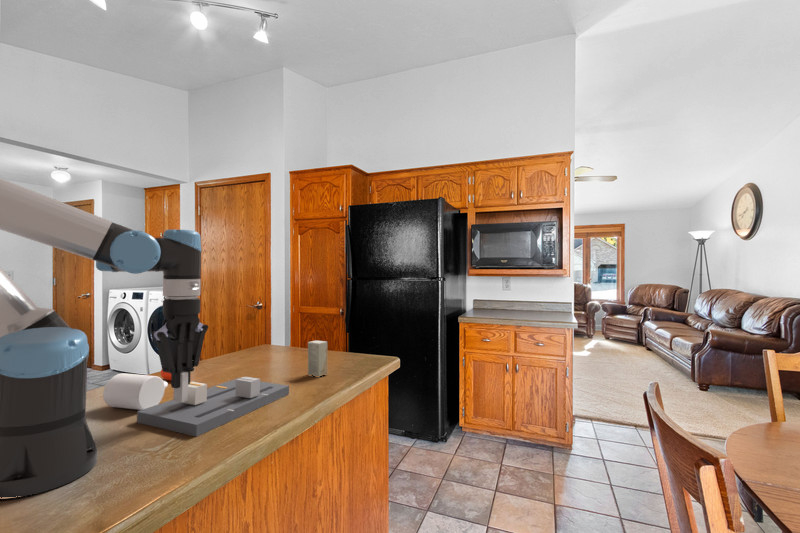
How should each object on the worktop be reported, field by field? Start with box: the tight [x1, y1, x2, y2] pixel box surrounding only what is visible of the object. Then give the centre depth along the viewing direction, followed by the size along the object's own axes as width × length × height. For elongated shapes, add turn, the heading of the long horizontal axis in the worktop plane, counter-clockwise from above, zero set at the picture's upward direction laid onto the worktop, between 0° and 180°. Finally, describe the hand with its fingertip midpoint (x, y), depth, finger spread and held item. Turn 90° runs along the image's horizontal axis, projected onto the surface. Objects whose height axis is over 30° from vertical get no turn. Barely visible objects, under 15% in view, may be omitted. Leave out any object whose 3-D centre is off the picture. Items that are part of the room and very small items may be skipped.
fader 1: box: [182, 381, 208, 405], centre depth 92 cm, size 3×5×4 cm
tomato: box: [160, 369, 171, 382], centre depth 119 cm, size 7×8×6 cm
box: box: [307, 340, 328, 377], centre depth 127 cm, size 5×4×11 cm
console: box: [136, 377, 290, 437], centre depth 96 cm, size 30×19×2 cm, turn 159°
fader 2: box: [235, 376, 261, 398], centre depth 97 cm, size 3×5×4 cm
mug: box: [102, 372, 169, 411], centre depth 97 cm, size 12×10×8 cm
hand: (180, 400), depth 88 cm, fingers closed
